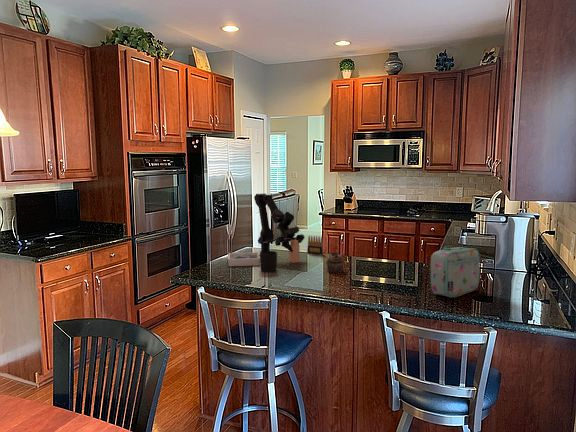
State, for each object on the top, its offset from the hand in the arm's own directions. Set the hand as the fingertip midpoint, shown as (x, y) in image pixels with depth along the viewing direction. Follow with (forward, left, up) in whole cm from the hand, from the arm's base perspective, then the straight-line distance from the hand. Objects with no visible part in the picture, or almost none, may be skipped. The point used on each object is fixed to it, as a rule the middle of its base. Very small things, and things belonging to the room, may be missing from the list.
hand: (295, 251), depth 259 cm
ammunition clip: (-23, +16, -7) cm, 29 cm away
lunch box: (+72, +62, -7) cm, 95 cm away
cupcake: (+24, +18, -7) cm, 31 cm away
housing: (-3, -31, -7) cm, 32 cm away
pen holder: (+19, -18, -7) cm, 27 cm away
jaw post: (-1, -1, -7) cm, 7 cm away
